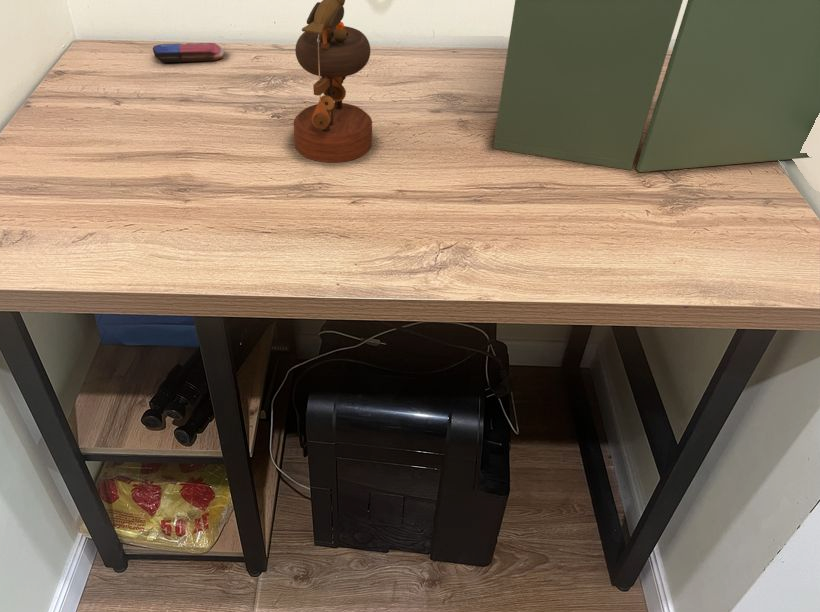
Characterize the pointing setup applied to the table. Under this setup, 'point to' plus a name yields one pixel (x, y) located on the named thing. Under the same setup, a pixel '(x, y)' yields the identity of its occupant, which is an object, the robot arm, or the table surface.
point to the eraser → (188, 52)
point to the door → (737, 85)
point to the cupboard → (582, 77)
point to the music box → (332, 87)
